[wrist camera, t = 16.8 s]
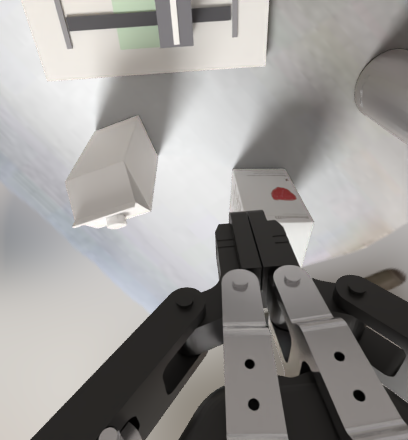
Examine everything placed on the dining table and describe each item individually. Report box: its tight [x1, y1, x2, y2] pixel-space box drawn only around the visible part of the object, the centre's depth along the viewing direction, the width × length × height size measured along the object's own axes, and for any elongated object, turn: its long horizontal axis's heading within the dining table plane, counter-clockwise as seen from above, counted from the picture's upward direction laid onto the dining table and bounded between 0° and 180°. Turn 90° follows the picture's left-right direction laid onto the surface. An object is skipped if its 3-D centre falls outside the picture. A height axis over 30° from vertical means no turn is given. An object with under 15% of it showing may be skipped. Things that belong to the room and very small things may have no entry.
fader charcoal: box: [155, 0, 194, 48], centre depth 34 cm, size 4×4×6 cm
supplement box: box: [229, 169, 314, 268], centre depth 49 cm, size 9×9×15 cm
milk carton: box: [65, 115, 158, 229], centre depth 41 cm, size 7×7×19 cm
